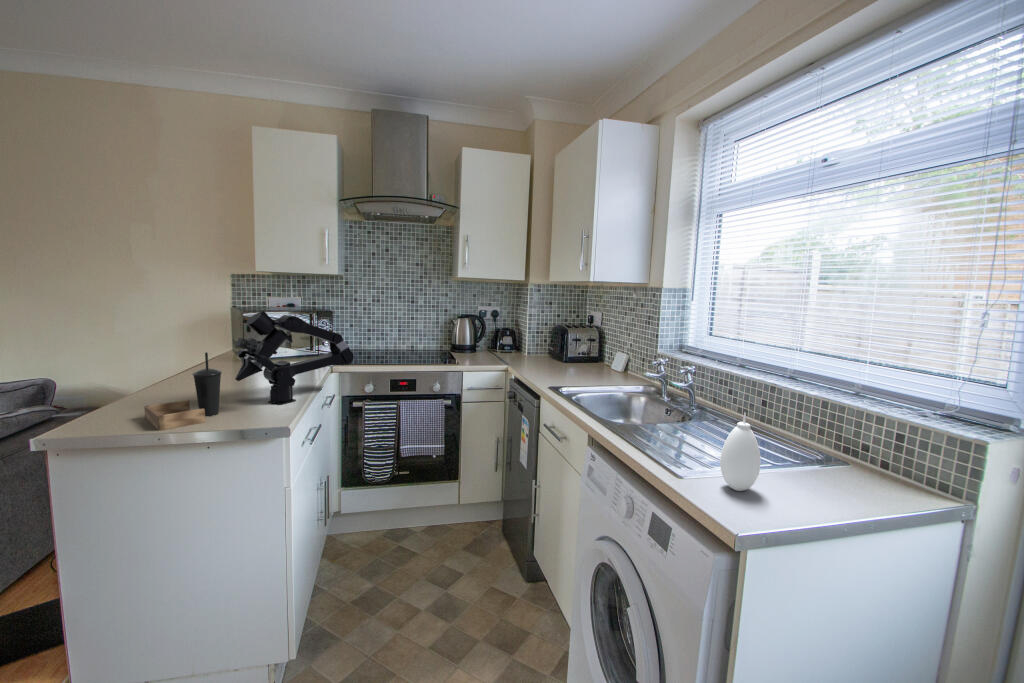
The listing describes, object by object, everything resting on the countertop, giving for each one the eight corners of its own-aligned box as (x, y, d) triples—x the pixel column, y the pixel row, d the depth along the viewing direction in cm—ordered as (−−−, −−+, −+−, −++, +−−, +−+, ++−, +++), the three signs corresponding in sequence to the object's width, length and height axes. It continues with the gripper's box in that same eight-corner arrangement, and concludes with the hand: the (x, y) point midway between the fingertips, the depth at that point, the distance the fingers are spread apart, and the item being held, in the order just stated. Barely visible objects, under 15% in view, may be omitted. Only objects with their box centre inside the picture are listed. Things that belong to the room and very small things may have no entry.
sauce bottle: (711, 481, 105) (718, 406, 102) (744, 481, 105) (751, 407, 103) (729, 497, 97) (737, 416, 95) (764, 497, 97) (773, 417, 95)
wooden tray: (188, 411, 145) (188, 399, 144) (205, 422, 135) (204, 409, 135) (145, 419, 136) (144, 406, 136) (159, 430, 126) (158, 416, 126)
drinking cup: (228, 414, 144) (225, 352, 141) (201, 419, 137) (198, 355, 135) (216, 409, 148) (213, 350, 145) (190, 415, 141) (186, 352, 139)
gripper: (240, 326, 155) (205, 361, 148) (263, 331, 144) (226, 369, 137) (265, 346, 162) (233, 381, 155) (289, 353, 151) (255, 390, 144)
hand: (236, 380), depth 148 cm, fingers closed
